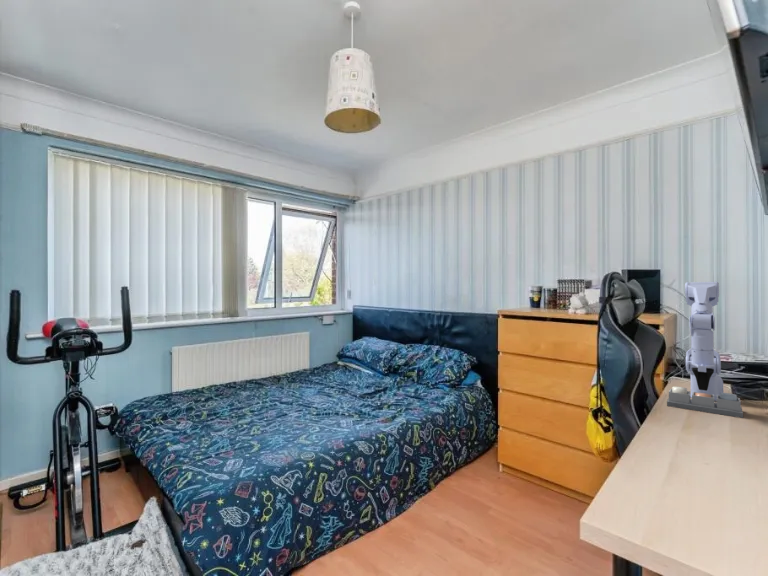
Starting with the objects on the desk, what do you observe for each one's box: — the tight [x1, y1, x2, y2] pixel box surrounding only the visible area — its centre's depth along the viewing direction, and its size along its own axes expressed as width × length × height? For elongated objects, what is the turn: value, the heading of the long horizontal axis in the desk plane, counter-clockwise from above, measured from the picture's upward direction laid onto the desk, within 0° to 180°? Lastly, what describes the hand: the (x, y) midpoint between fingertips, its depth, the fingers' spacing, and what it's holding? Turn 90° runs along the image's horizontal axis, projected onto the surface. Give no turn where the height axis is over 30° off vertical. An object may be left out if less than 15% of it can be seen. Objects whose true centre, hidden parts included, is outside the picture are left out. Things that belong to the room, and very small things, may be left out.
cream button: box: [671, 386, 688, 394], centre depth 128 cm, size 4×4×3 cm
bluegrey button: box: [720, 392, 738, 401], centre depth 120 cm, size 4×4×3 cm
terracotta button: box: [695, 393, 711, 398], centre depth 124 cm, size 4×4×3 cm
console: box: [666, 388, 744, 419], centre depth 124 cm, size 19×9×4 cm, turn 48°
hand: (703, 389), depth 124 cm, fingers closed
